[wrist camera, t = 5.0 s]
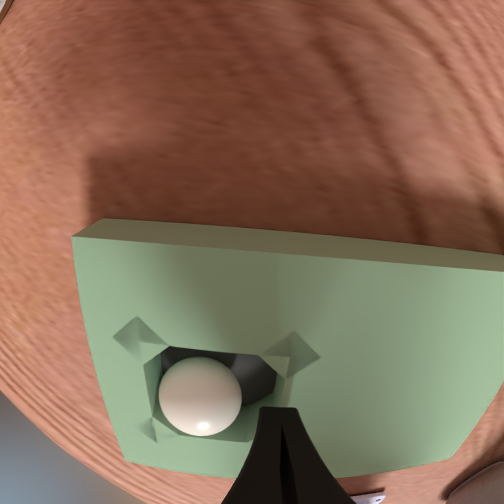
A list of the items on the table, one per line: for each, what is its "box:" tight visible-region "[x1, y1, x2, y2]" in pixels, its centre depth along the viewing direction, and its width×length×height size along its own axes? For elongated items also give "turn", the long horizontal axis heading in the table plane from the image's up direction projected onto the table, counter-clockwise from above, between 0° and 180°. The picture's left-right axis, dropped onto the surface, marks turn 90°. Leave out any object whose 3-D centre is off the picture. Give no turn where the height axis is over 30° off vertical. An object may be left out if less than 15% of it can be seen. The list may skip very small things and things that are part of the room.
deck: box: [71, 218, 504, 478], centre depth 13 cm, size 13×20×2 cm, turn 85°
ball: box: [159, 356, 242, 436], centre depth 12 cm, size 4×4×4 cm
